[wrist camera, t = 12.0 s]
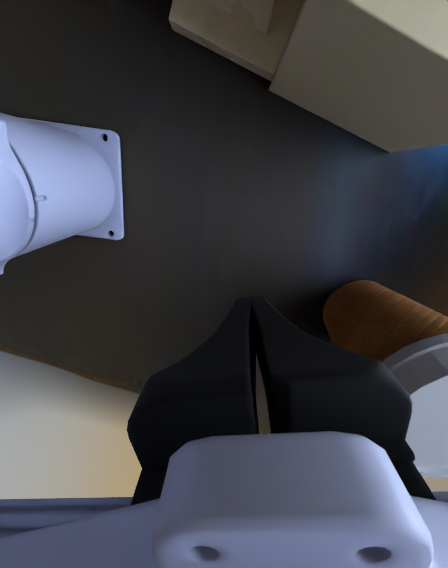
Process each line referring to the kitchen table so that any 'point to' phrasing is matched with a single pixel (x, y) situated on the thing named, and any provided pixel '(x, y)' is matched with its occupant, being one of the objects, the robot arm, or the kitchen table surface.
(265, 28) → the lever bracket
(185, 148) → the kitchen table surface
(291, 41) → the toaster
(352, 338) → the disposable coffee cup
